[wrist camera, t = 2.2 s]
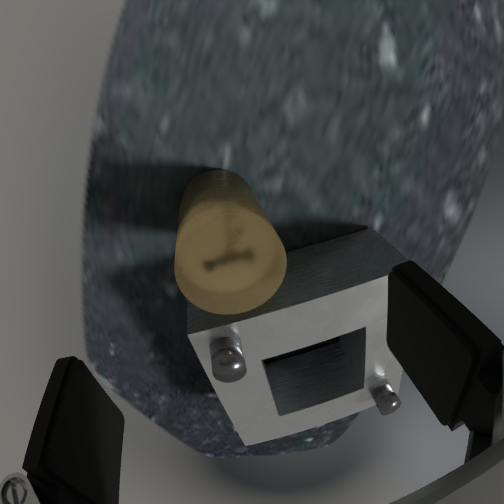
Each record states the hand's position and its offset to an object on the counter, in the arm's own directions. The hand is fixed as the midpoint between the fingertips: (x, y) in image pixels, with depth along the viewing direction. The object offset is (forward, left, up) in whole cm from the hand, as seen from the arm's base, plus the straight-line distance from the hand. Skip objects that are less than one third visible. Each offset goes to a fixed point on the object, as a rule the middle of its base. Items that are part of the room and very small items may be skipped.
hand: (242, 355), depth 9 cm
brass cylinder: (-1, 0, -10) cm, 10 cm away
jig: (+9, +3, -10) cm, 14 cm away
